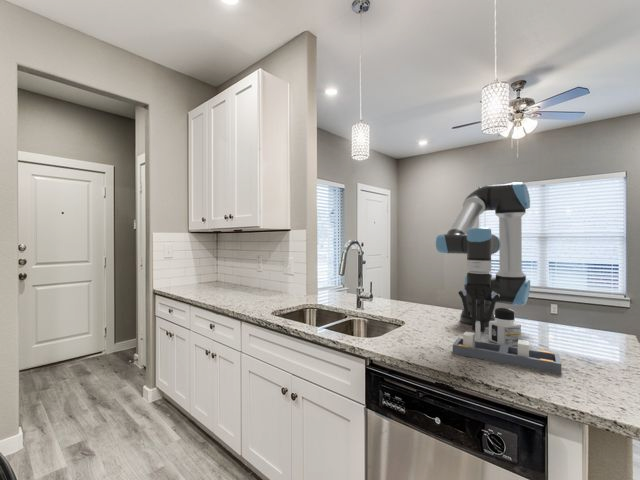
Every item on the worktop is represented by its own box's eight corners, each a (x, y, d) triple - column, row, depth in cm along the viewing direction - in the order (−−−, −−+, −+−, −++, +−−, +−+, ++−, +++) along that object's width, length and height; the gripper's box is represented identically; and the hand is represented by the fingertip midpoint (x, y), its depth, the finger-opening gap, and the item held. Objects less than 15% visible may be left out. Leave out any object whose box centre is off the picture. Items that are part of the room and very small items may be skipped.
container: (504, 346, 118) (504, 311, 118) (488, 340, 125) (488, 307, 125) (521, 345, 120) (521, 310, 120) (504, 338, 127) (504, 306, 127)
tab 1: (465, 345, 115) (465, 331, 115) (474, 347, 113) (474, 332, 113) (463, 349, 111) (463, 334, 111) (472, 351, 109) (472, 336, 109)
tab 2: (518, 354, 106) (518, 339, 106) (528, 356, 104) (529, 341, 104) (517, 359, 102) (517, 343, 102) (528, 361, 100) (528, 345, 100)
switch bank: (458, 345, 119) (458, 336, 119) (558, 363, 102) (559, 353, 102) (452, 353, 110) (452, 344, 110) (561, 374, 94) (561, 363, 94)
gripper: (456, 272, 111) (455, 340, 111) (499, 274, 103) (498, 347, 103) (460, 270, 117) (460, 334, 117) (501, 272, 110) (500, 341, 110)
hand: (478, 340), depth 110 cm, fingers closed
